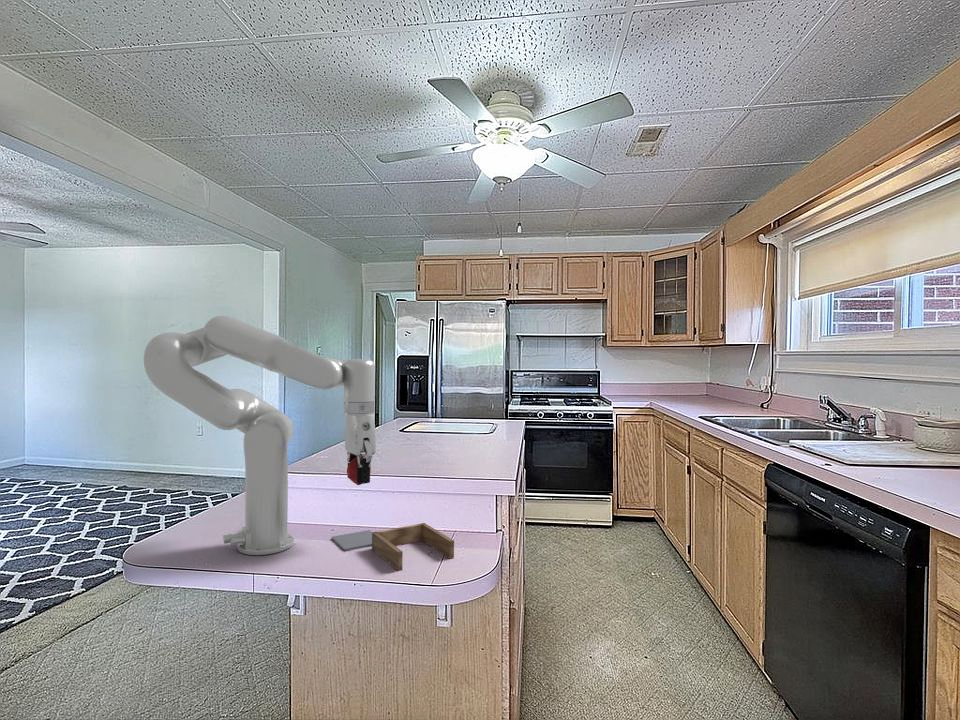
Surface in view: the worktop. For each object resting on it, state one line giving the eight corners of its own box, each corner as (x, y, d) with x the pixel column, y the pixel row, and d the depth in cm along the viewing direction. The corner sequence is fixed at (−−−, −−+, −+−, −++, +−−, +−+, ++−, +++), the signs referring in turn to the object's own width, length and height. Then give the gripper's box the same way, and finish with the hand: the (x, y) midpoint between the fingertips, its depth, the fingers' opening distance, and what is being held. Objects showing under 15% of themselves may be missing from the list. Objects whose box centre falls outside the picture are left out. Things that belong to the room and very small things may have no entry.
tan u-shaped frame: (398, 570, 113) (398, 552, 113) (371, 549, 125) (372, 532, 125) (453, 557, 121) (454, 540, 121) (424, 538, 133) (424, 522, 133)
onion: (364, 488, 127) (364, 455, 127) (342, 487, 128) (343, 454, 128) (374, 483, 133) (374, 451, 133) (353, 481, 134) (353, 450, 134)
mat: (344, 551, 124) (344, 549, 124) (331, 538, 132) (331, 536, 132) (384, 543, 129) (384, 541, 129) (369, 531, 138) (369, 529, 138)
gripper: (387, 411, 125) (386, 486, 125) (361, 405, 140) (360, 472, 140) (356, 412, 121) (356, 490, 121) (333, 406, 136) (332, 475, 136)
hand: (358, 479), depth 131 cm, fingers closed on onion, 5 cm apart
